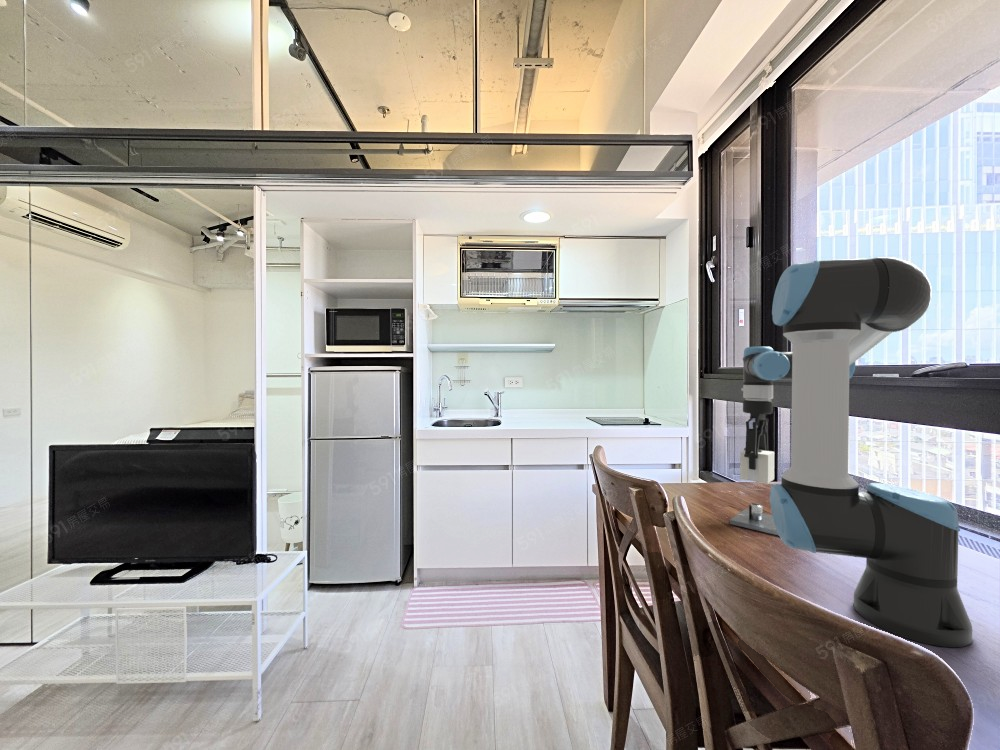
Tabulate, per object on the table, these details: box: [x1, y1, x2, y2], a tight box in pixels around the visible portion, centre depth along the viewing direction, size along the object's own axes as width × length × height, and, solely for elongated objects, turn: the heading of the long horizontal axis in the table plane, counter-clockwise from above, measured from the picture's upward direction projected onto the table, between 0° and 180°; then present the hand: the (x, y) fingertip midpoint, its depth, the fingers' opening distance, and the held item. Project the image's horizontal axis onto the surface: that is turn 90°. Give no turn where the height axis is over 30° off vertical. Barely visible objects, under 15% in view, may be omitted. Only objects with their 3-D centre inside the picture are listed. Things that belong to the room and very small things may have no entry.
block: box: [739, 447, 775, 484], centre depth 124 cm, size 8×7×9 cm
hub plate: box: [729, 502, 780, 537], centre depth 123 cm, size 14×14×5 cm
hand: (756, 478), depth 124 cm, fingers closed on block, 7 cm apart
